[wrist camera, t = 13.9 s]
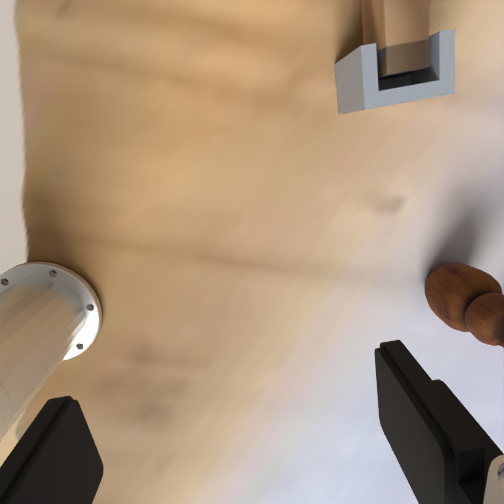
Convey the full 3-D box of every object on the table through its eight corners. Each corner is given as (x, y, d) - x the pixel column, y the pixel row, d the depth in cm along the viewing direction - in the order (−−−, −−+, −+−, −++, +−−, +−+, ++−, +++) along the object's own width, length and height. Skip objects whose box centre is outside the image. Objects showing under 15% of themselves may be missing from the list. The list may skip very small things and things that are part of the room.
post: (338, 114, 37) (364, 109, 30) (334, 64, 36) (360, 45, 28) (409, 101, 37) (454, 93, 30) (408, 51, 36) (454, 28, 28)
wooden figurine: (434, 248, 42) (535, 307, 28) (476, 263, 43) (594, 327, 29) (407, 298, 44) (489, 376, 30) (448, 311, 45) (546, 394, 31)
